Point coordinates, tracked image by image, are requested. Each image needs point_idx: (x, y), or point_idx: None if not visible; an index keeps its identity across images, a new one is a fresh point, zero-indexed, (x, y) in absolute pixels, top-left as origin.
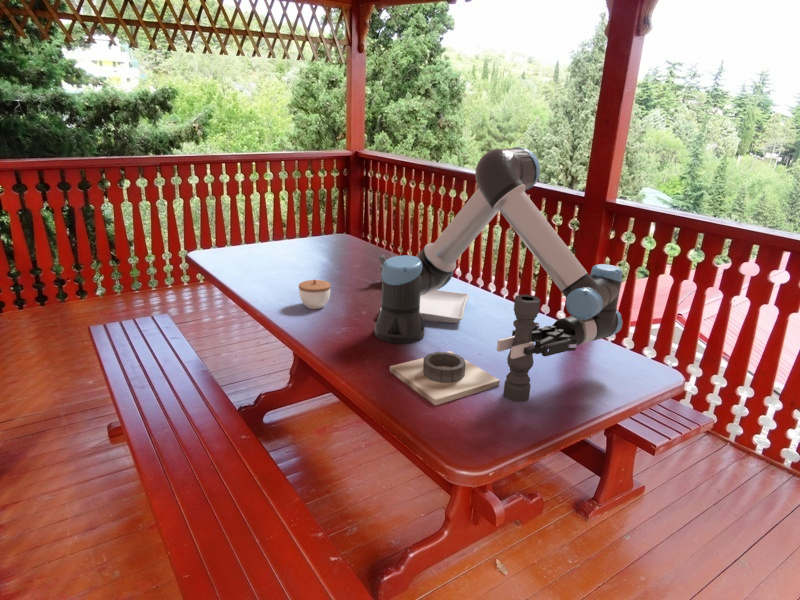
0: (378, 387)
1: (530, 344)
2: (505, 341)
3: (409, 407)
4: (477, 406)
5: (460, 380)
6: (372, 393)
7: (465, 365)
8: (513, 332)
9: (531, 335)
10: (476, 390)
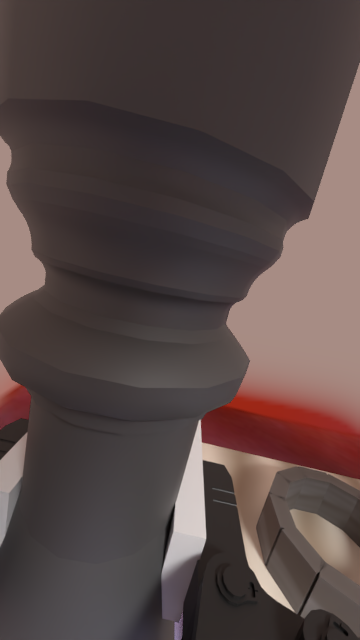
0: (290, 440)
1: (10, 455)
2: None
3: (209, 426)
4: None
5: (262, 562)
6: (271, 424)
7: (312, 580)
8: (312, 615)
9: (27, 433)
10: None
